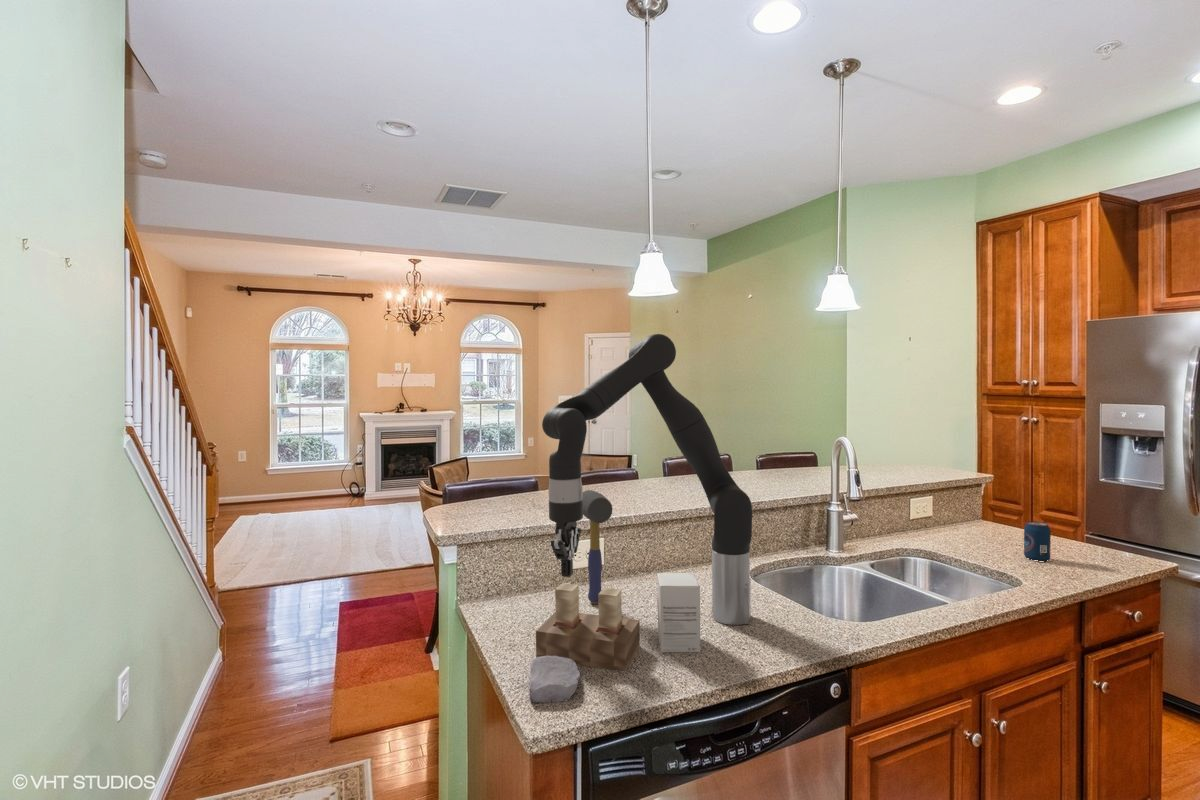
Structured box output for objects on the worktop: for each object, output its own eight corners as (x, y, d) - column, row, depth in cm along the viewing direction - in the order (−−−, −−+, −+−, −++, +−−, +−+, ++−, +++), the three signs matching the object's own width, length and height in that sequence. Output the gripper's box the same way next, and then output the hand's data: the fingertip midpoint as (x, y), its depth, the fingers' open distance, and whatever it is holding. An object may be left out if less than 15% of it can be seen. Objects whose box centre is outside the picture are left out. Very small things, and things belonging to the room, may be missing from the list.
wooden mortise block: (639, 646, 130) (639, 620, 130) (625, 671, 119) (625, 643, 119) (557, 635, 137) (557, 610, 136) (536, 658, 125) (535, 630, 125)
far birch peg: (579, 641, 131) (579, 584, 130) (573, 650, 127) (572, 591, 126) (562, 639, 132) (561, 583, 132) (555, 647, 128) (554, 589, 128)
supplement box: (657, 635, 136) (656, 572, 136) (695, 635, 136) (695, 571, 136) (659, 653, 127) (659, 585, 127) (700, 653, 127) (700, 585, 126)
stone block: (575, 679, 120) (527, 672, 119) (579, 657, 120) (531, 650, 119) (578, 713, 108) (525, 706, 107) (583, 689, 108) (530, 681, 107)
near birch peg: (622, 647, 127) (621, 589, 127) (617, 656, 123) (616, 596, 123) (604, 645, 129) (603, 587, 128) (598, 653, 125) (597, 594, 124)
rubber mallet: (615, 609, 152) (614, 495, 151) (588, 612, 150) (586, 497, 149) (602, 593, 164) (600, 487, 163) (576, 596, 162) (575, 489, 161)
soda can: (1019, 556, 194) (1019, 520, 194) (1042, 556, 193) (1042, 521, 193) (1031, 562, 187) (1032, 525, 187) (1055, 563, 186) (1055, 526, 186)
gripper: (570, 505, 121) (572, 587, 121) (591, 493, 133) (592, 567, 134) (537, 503, 123) (539, 584, 124) (561, 492, 136) (562, 565, 136)
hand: (567, 575), depth 129 cm, fingers closed
